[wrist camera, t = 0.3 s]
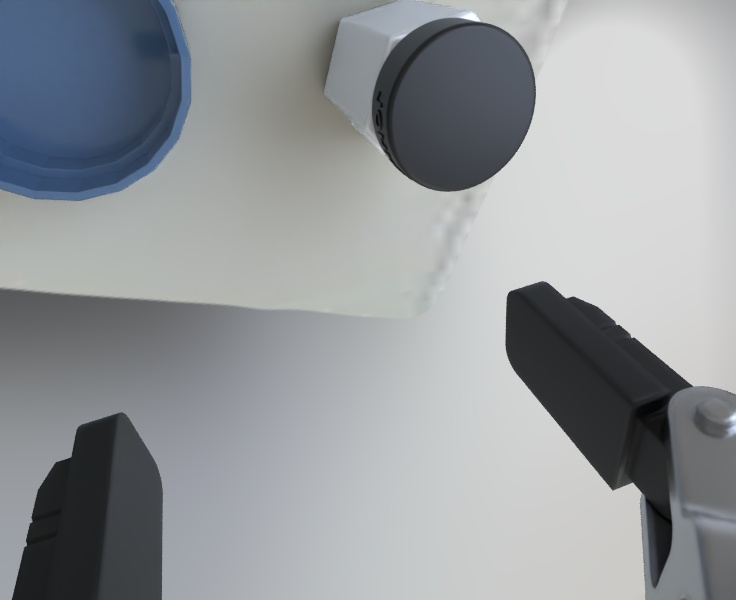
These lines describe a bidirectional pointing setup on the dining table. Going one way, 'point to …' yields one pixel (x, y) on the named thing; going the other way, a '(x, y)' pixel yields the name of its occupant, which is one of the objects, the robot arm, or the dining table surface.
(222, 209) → the dining table surface
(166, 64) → the blue bowl
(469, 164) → the jar
